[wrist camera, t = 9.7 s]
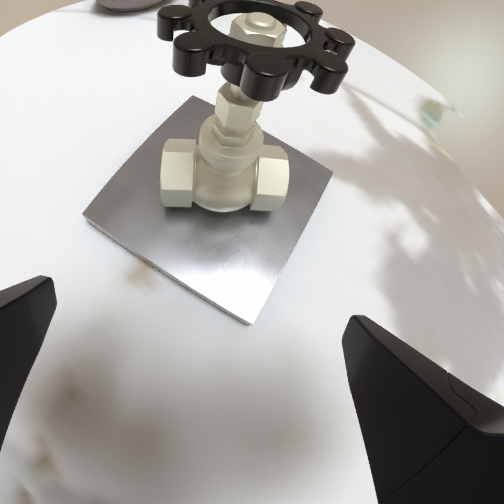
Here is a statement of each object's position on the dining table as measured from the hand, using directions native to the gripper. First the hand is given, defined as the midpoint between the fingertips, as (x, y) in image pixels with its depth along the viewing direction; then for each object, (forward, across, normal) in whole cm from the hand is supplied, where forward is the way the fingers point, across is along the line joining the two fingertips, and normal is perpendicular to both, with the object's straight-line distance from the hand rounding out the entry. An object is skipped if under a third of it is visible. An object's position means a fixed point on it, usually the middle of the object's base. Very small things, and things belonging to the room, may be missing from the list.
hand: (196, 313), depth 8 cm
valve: (+12, 0, 0) cm, 12 cm away
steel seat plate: (+13, 0, 0) cm, 13 cm away
